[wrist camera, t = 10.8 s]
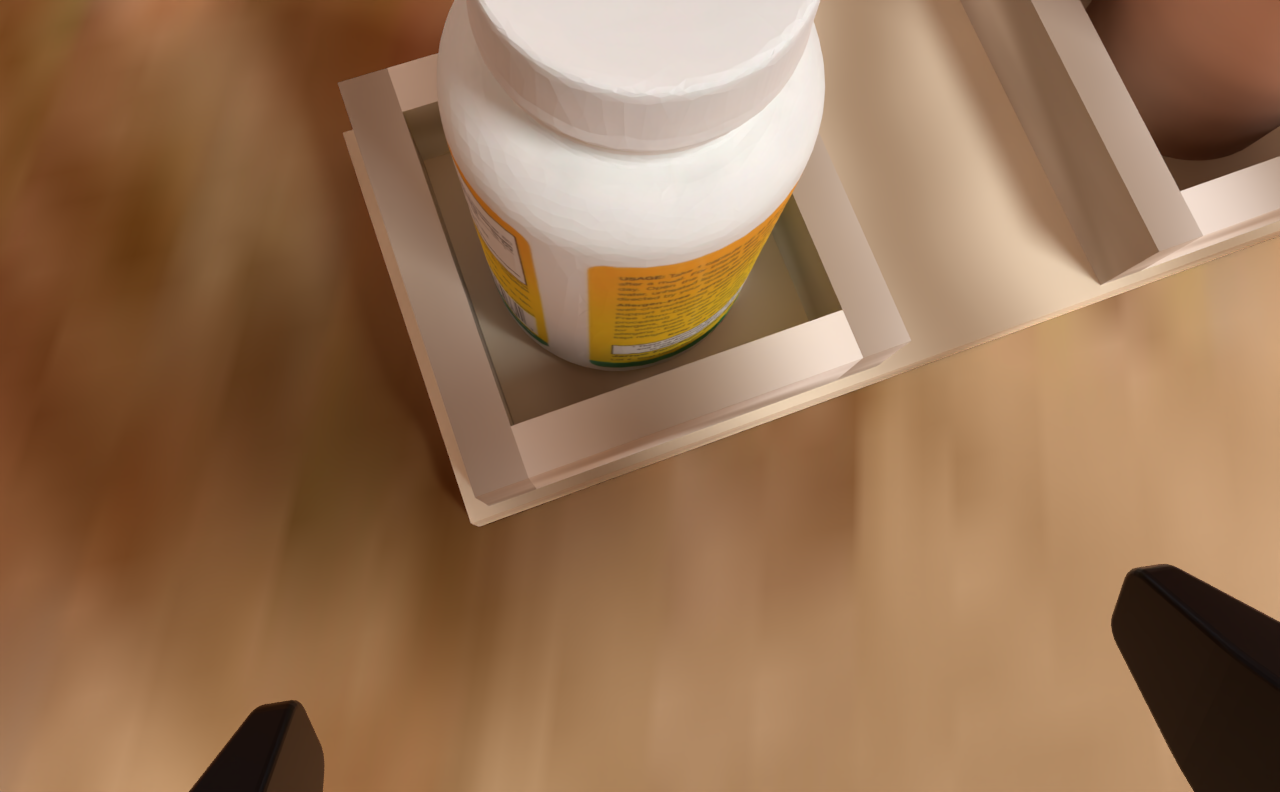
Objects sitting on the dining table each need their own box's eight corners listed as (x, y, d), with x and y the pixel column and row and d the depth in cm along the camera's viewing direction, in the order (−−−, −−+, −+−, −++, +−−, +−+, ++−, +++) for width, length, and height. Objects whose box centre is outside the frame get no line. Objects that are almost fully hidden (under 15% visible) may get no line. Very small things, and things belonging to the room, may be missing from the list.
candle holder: (1227, -109, 22) (1828, -763, 11) (1400, 191, 21) (2292, -234, 10) (357, 158, 20) (54, -361, 9) (479, 526, 18) (293, 454, 7)
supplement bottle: (451, 318, 18) (284, 31, 8) (555, 106, 19) (511, -357, 10) (689, 417, 18) (791, 238, 8) (780, 197, 19) (962, -185, 9)
